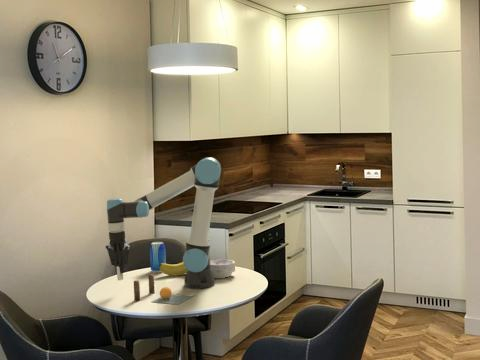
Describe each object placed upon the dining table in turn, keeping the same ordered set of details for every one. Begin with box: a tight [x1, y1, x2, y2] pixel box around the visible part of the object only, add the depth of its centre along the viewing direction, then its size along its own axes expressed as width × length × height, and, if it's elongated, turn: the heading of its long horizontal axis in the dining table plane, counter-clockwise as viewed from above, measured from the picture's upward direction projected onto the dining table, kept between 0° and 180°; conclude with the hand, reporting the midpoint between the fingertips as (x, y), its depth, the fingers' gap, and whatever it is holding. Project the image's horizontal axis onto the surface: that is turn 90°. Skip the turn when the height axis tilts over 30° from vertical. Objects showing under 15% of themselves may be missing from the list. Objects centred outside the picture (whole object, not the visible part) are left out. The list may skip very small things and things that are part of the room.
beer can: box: [149, 241, 167, 274], centre depth 333 cm, size 8×8×16 cm
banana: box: [159, 261, 187, 277], centre depth 323 cm, size 23×6×20 cm, turn 106°
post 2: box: [147, 273, 156, 295], centre depth 288 cm, size 3×3×9 cm
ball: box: [159, 286, 173, 299], centre depth 278 cm, size 6×6×6 cm
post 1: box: [133, 279, 141, 302], centre depth 277 cm, size 3×3×9 cm
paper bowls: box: [210, 259, 236, 279], centre depth 317 cm, size 15×15×8 cm
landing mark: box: [151, 293, 194, 306], centre depth 277 cm, size 14×14×1 cm
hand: (120, 279), depth 288 cm, fingers closed
